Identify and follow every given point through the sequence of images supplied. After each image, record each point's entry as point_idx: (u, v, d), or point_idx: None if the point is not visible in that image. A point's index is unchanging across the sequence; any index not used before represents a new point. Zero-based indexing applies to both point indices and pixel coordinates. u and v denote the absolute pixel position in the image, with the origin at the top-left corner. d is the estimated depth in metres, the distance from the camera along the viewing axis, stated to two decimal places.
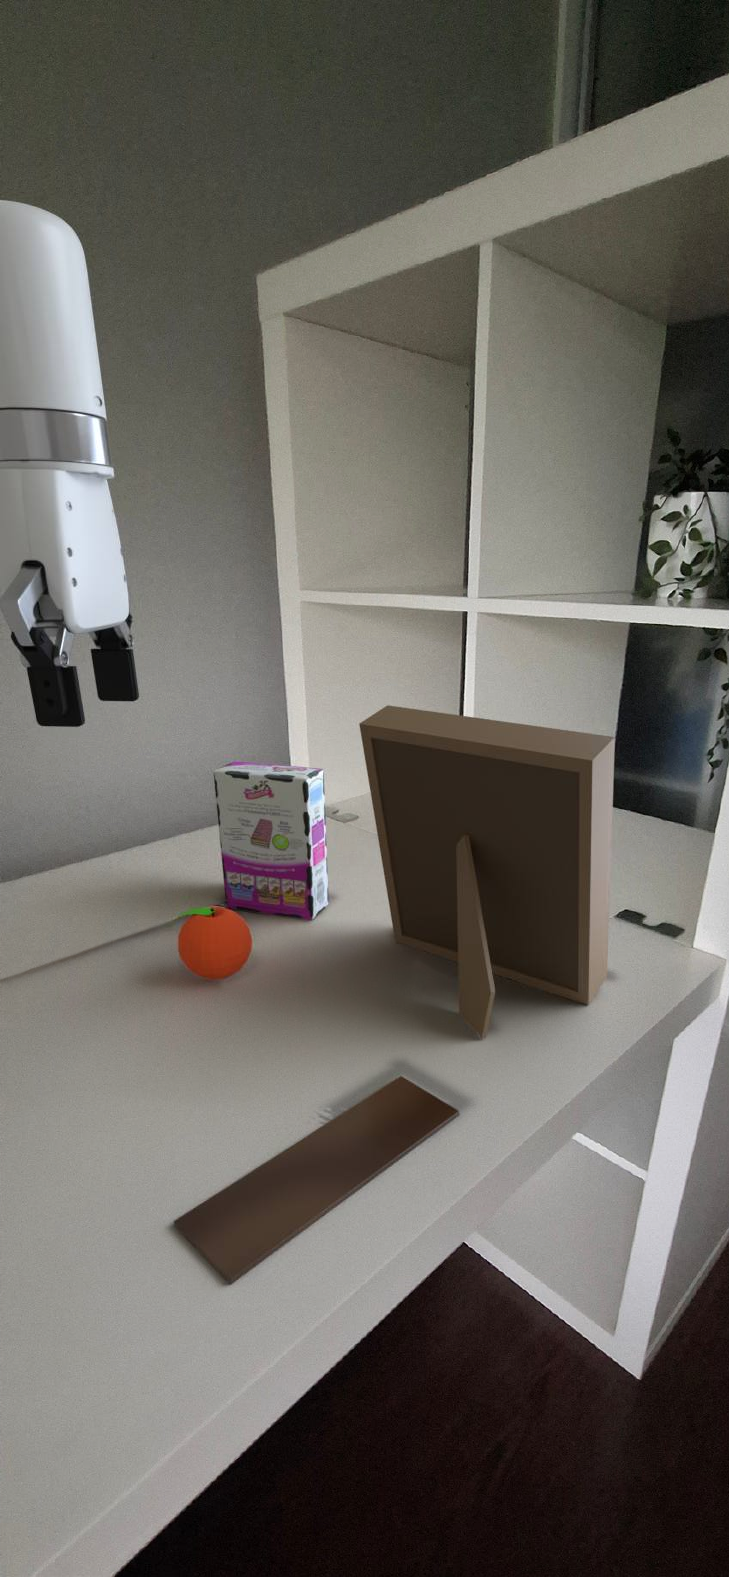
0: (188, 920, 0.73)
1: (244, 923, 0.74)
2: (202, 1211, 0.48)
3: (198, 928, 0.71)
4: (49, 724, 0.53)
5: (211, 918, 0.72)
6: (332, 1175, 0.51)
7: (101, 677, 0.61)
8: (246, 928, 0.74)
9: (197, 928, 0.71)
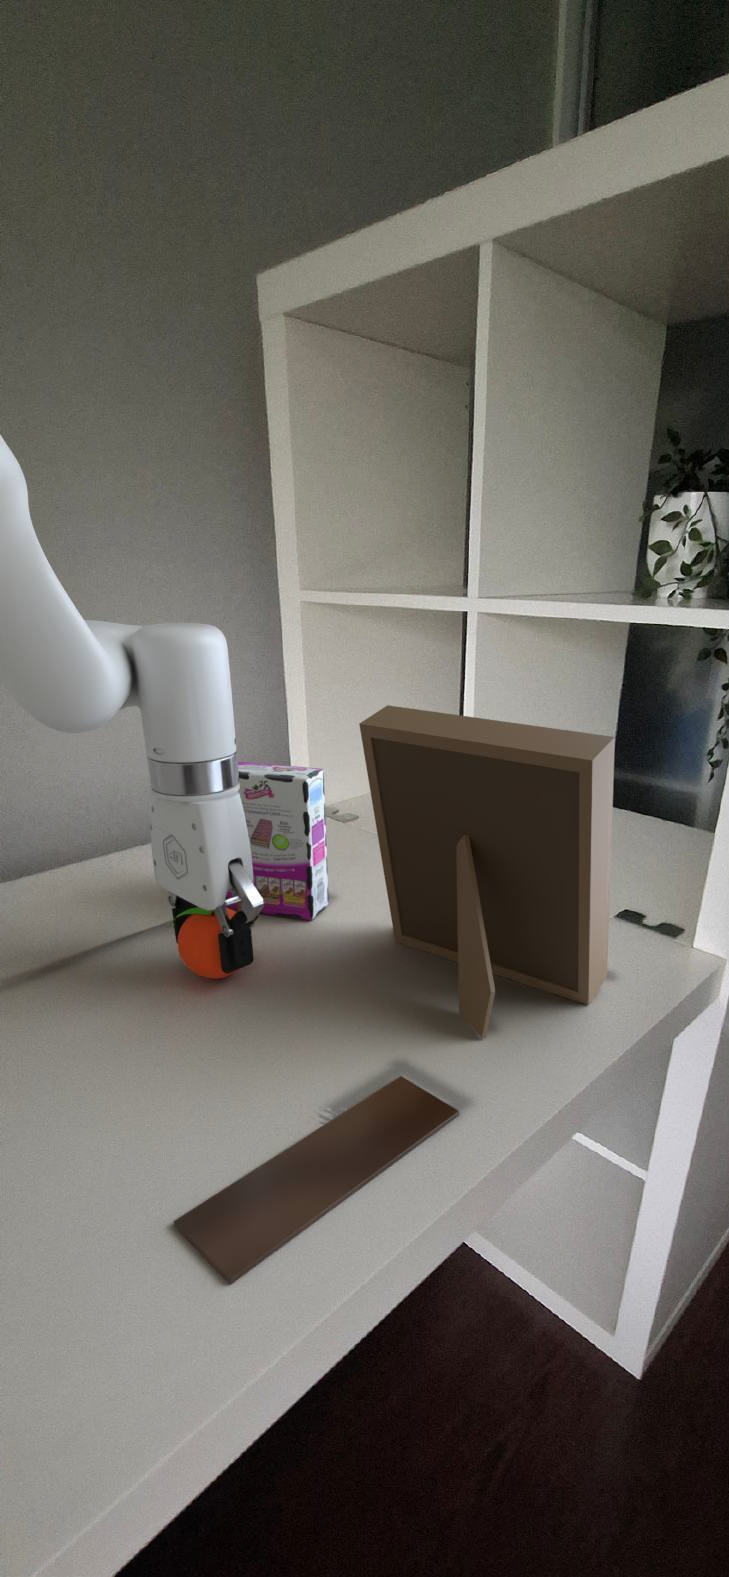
0: (188, 919, 0.73)
1: None
2: (202, 1211, 0.48)
3: (198, 927, 0.71)
4: (232, 970, 0.71)
5: (211, 917, 0.72)
6: (332, 1175, 0.51)
7: None
8: None
9: (198, 927, 0.71)
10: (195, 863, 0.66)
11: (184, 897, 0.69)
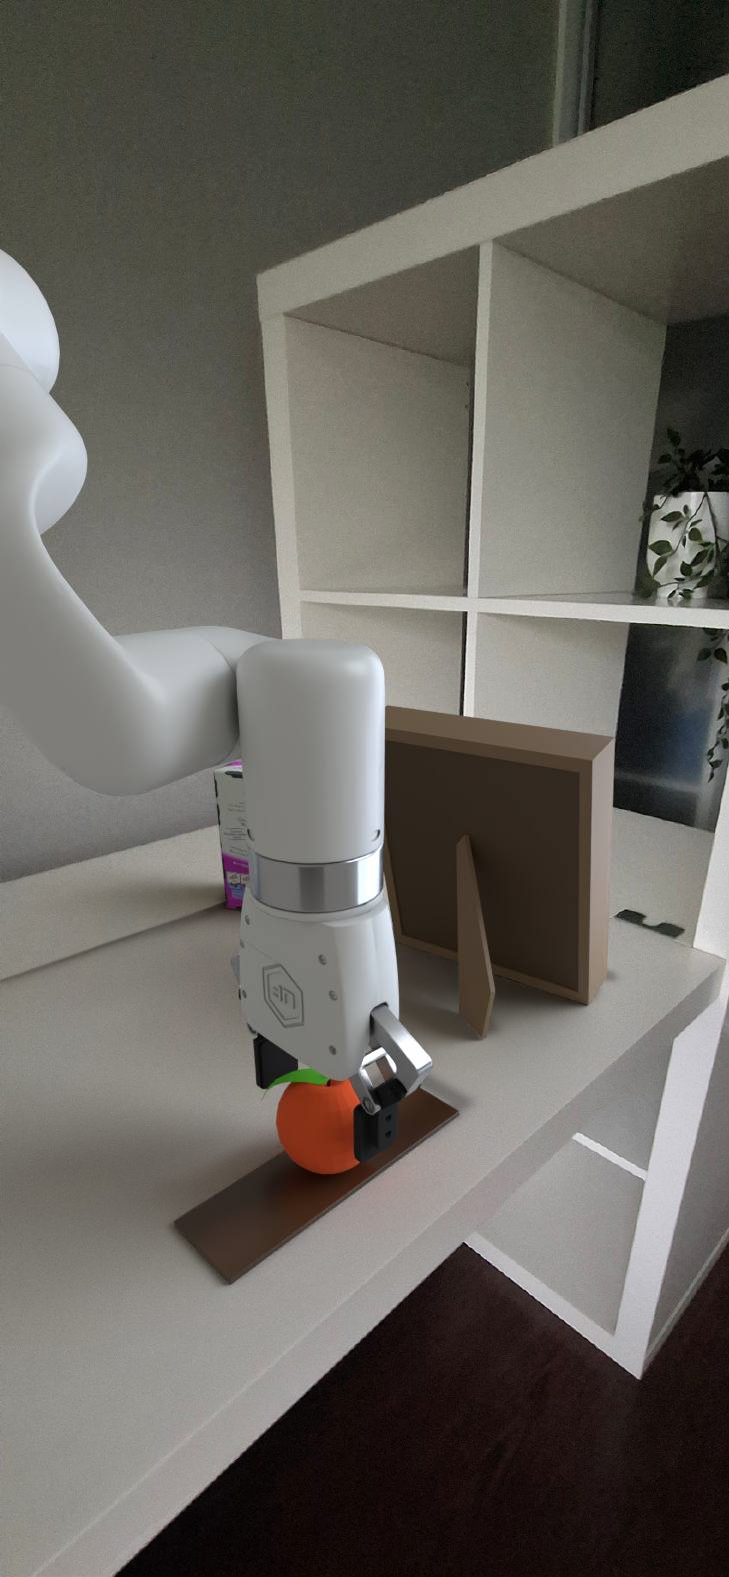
0: (293, 1090, 0.49)
1: None
2: (202, 1211, 0.48)
3: (312, 1107, 0.48)
4: (370, 1156, 0.47)
5: (329, 1090, 0.48)
6: (332, 1175, 0.51)
7: (269, 1065, 0.52)
8: None
9: (311, 1107, 0.48)
10: (319, 1012, 0.43)
11: (293, 1054, 0.46)
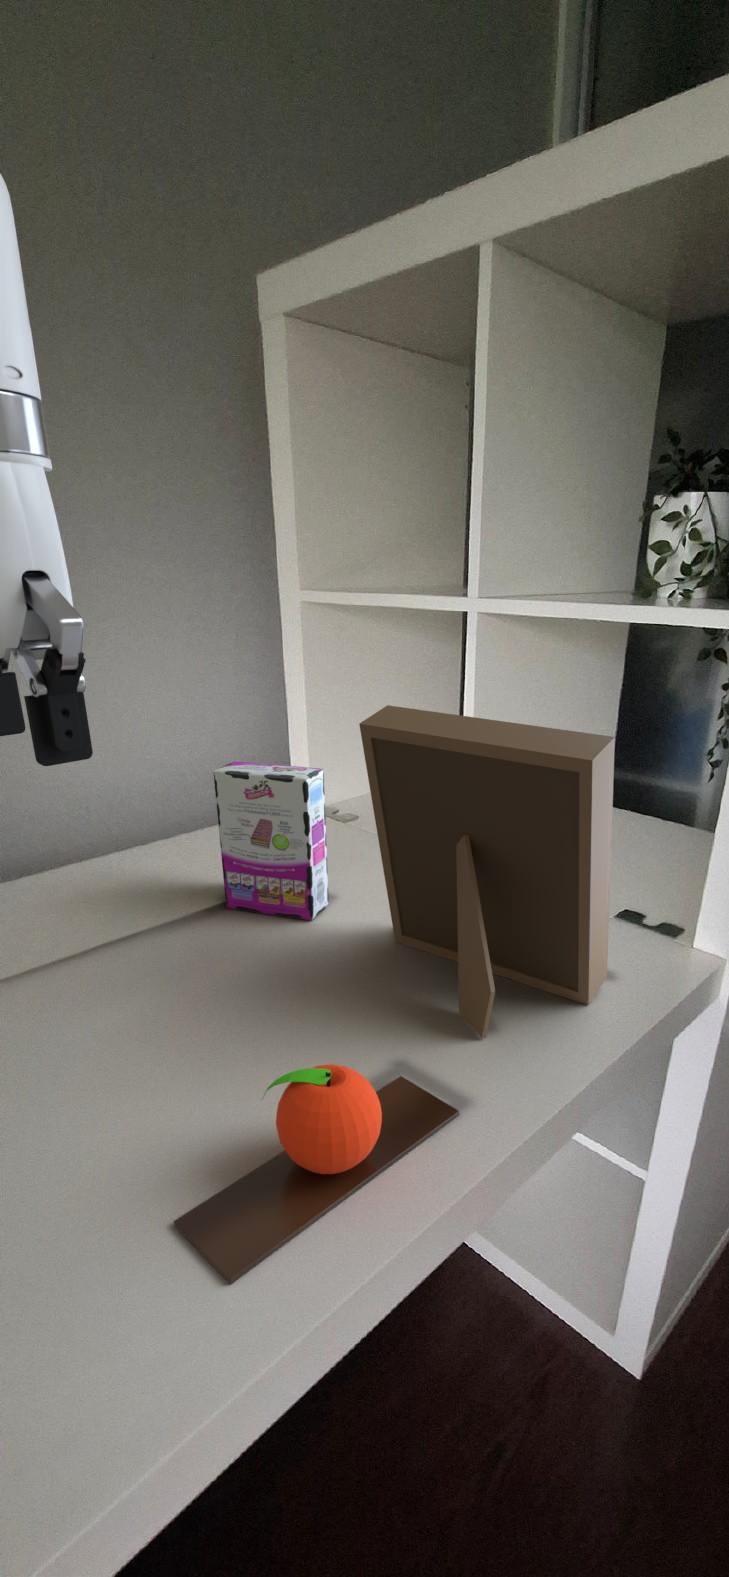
0: (293, 1091, 0.49)
1: (372, 1090, 0.51)
2: (202, 1211, 0.48)
3: (312, 1107, 0.48)
4: (55, 762, 0.45)
5: (329, 1090, 0.48)
6: (332, 1175, 0.51)
7: None
8: (375, 1097, 0.50)
9: (311, 1107, 0.48)
10: None
11: None
